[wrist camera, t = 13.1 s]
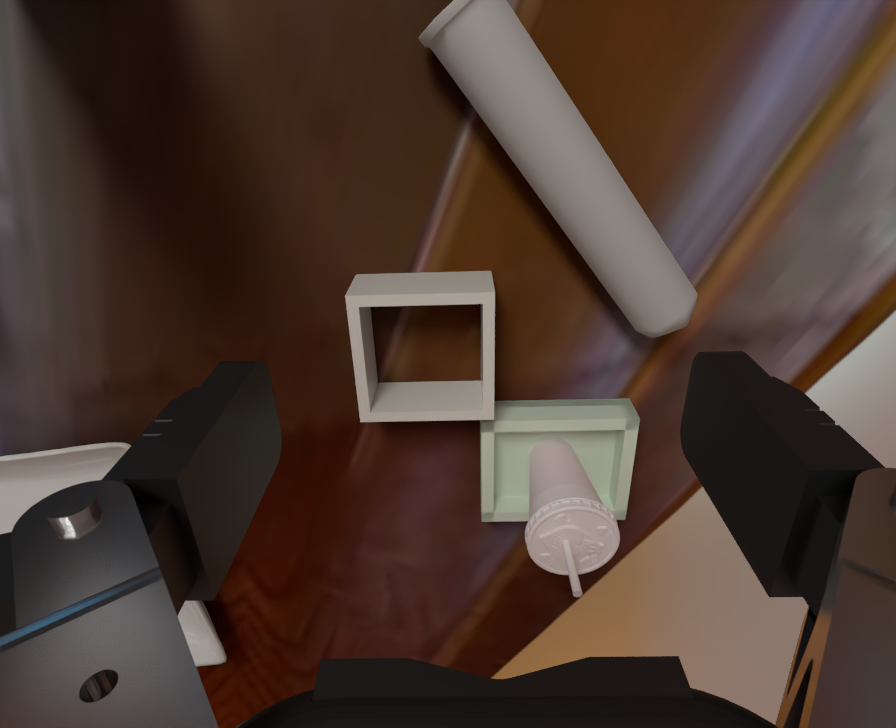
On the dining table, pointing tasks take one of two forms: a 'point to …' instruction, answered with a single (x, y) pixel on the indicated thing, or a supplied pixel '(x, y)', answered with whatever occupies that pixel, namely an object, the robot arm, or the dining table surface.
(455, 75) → the tube
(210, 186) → the dining table surface
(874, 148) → the dining table surface
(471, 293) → the hollow square frame
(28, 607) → the robot arm
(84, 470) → the square plate
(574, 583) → the smoothie
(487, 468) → the tray
